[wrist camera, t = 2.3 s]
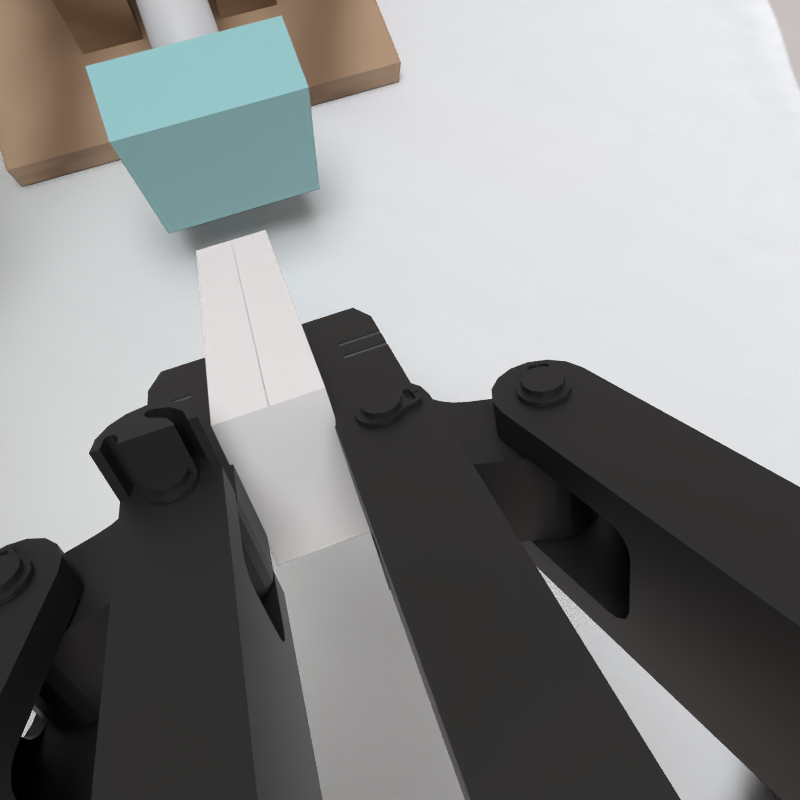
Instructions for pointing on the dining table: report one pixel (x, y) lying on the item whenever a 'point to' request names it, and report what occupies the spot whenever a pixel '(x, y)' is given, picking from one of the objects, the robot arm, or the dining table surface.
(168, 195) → the teal piece
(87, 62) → the mount
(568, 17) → the dining table surface
